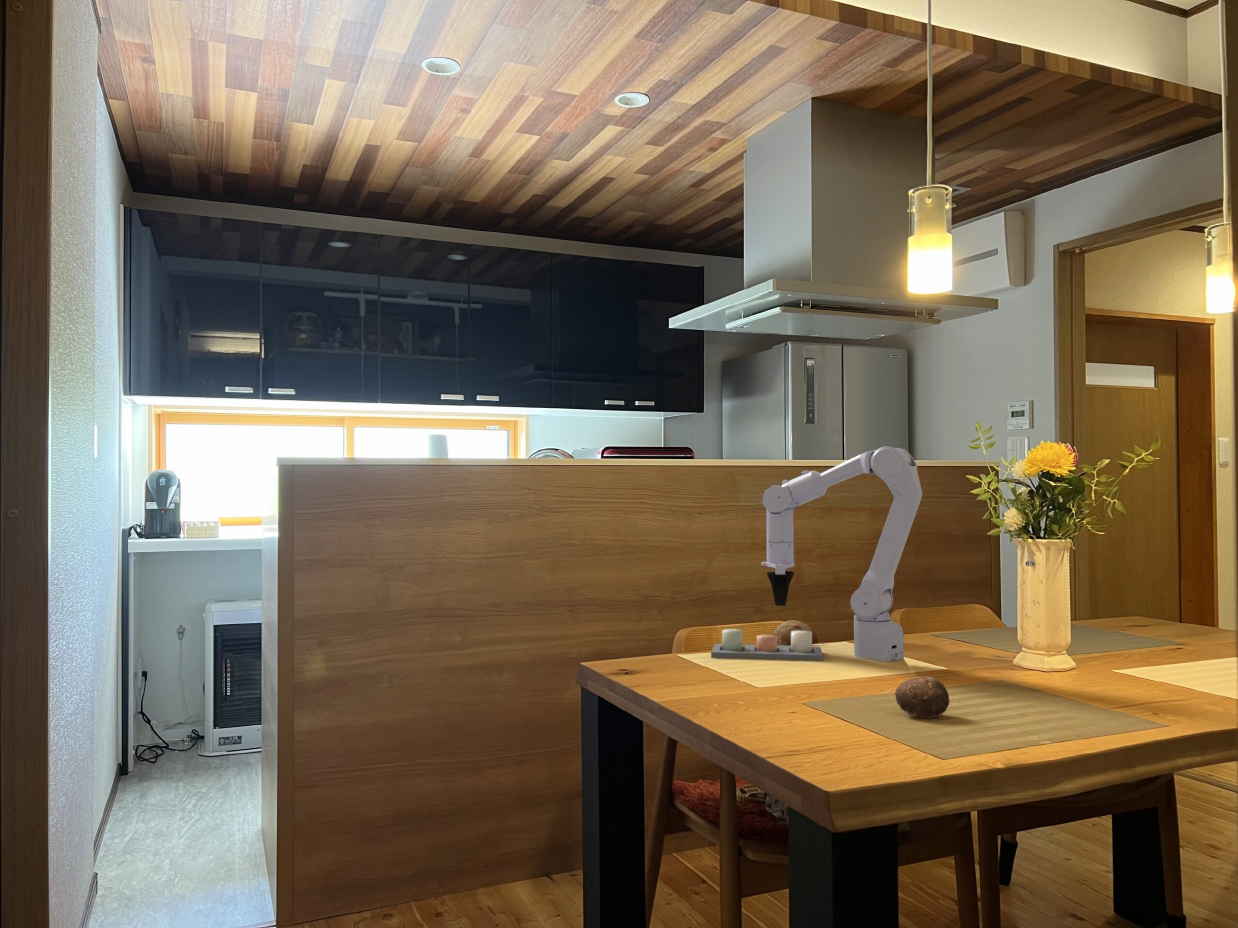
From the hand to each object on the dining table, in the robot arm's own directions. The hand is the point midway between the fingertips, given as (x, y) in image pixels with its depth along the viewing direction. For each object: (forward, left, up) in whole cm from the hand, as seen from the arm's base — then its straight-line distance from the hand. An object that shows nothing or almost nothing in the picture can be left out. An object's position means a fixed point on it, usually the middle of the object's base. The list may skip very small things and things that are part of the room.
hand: (780, 605), depth 201 cm
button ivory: (-9, +4, -9) cm, 14 cm away
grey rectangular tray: (-5, +9, -10) cm, 14 cm away
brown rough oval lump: (-51, +20, -11) cm, 56 cm away
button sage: (0, +13, -9) cm, 16 cm away
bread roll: (+4, -9, -11) cm, 14 cm away
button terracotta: (-5, +9, -10) cm, 14 cm away
